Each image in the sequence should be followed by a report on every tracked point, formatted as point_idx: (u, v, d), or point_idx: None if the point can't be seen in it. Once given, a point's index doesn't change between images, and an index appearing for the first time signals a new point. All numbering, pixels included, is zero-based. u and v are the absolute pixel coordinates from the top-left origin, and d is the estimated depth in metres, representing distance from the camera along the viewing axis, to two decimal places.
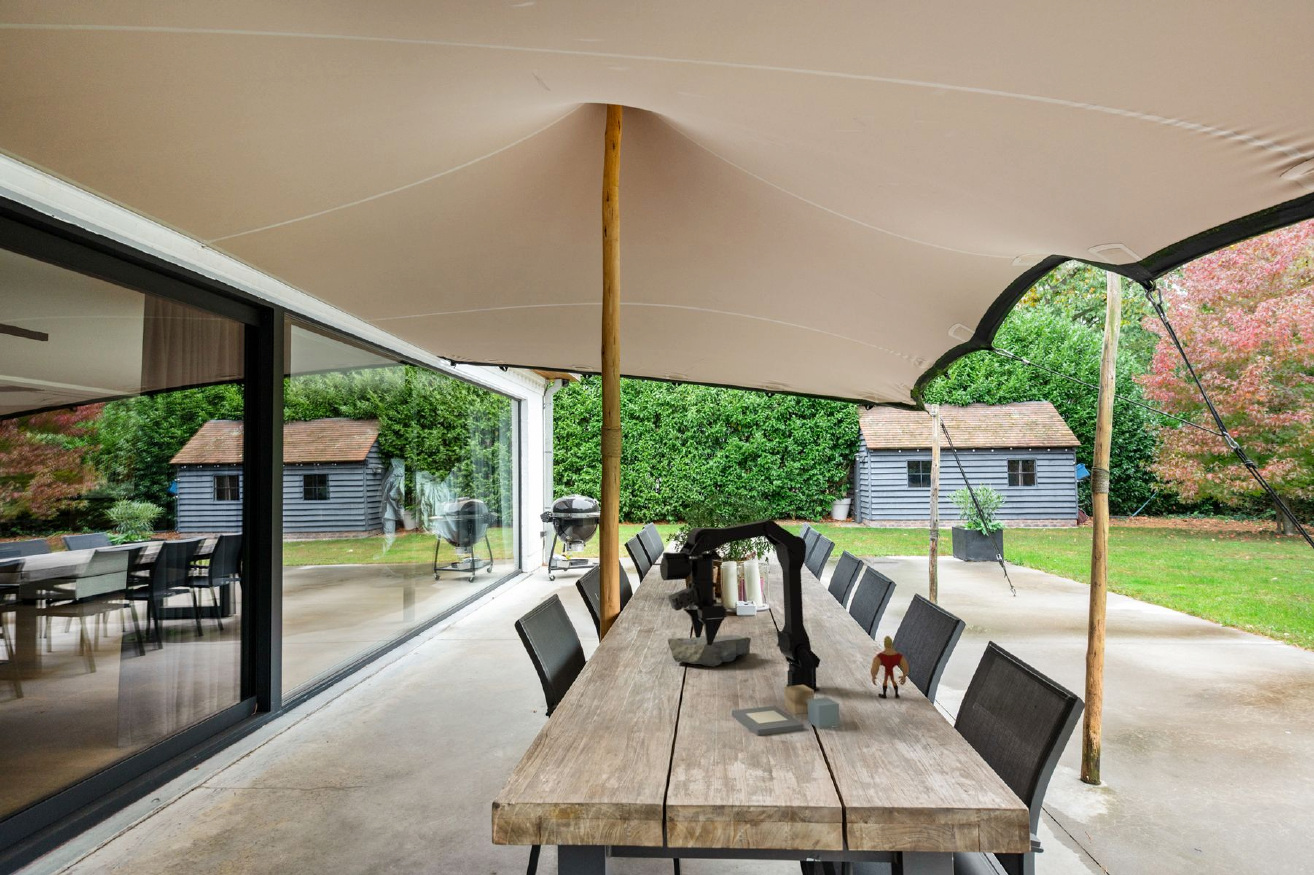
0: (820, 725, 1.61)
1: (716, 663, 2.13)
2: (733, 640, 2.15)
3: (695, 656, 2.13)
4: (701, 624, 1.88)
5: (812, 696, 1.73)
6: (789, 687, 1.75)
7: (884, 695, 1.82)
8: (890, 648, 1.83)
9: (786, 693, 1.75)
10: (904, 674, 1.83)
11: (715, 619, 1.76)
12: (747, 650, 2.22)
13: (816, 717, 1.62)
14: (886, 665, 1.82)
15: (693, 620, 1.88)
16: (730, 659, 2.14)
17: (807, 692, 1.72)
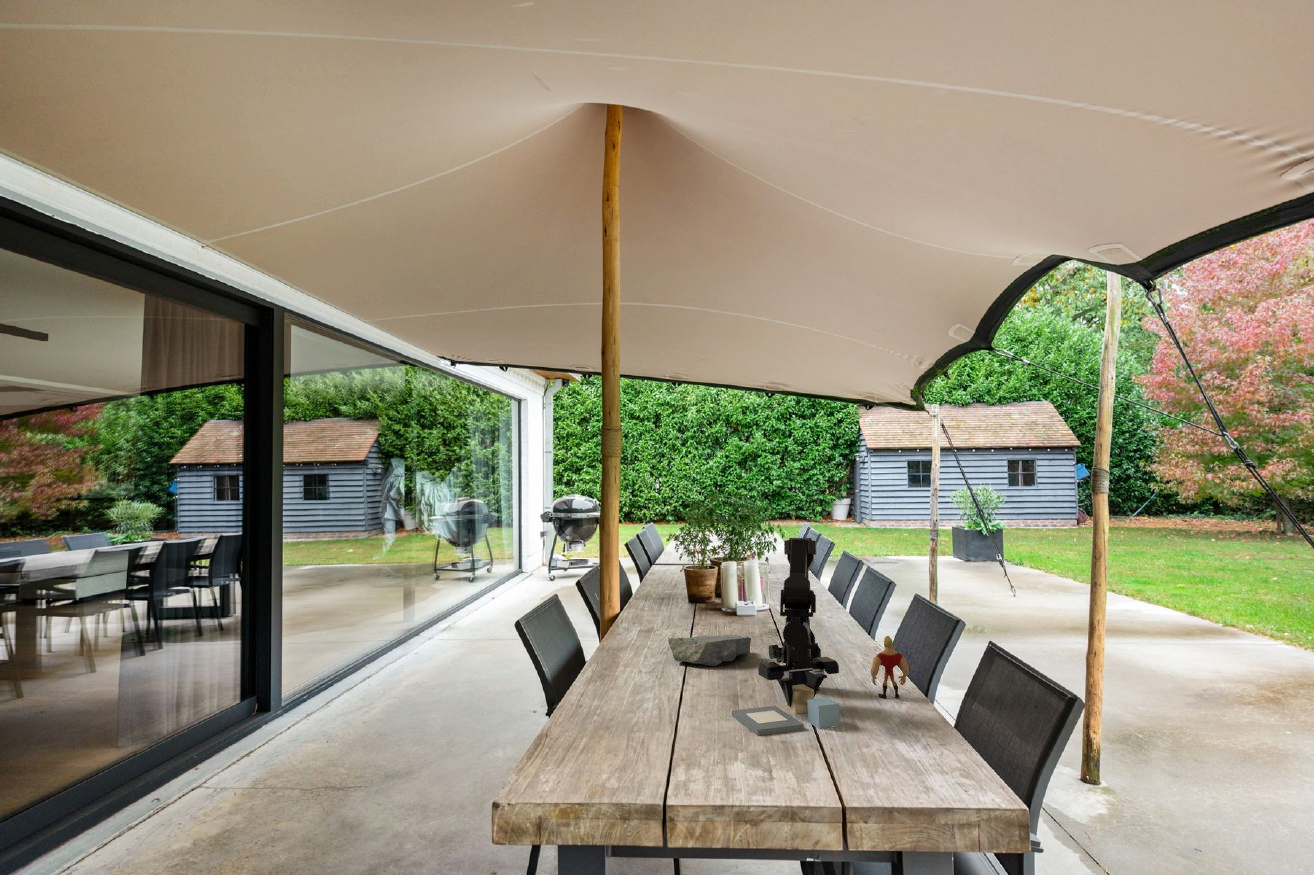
0: (820, 725, 1.61)
1: (716, 663, 2.14)
2: (733, 640, 2.16)
3: (695, 655, 2.14)
4: None
5: (812, 696, 1.73)
6: None
7: (884, 695, 1.82)
8: (890, 648, 1.83)
9: None
10: (904, 674, 1.83)
11: None
12: (747, 650, 2.22)
13: (816, 717, 1.62)
14: (886, 665, 1.82)
15: (807, 684, 1.76)
16: (730, 659, 2.15)
17: (807, 691, 1.72)
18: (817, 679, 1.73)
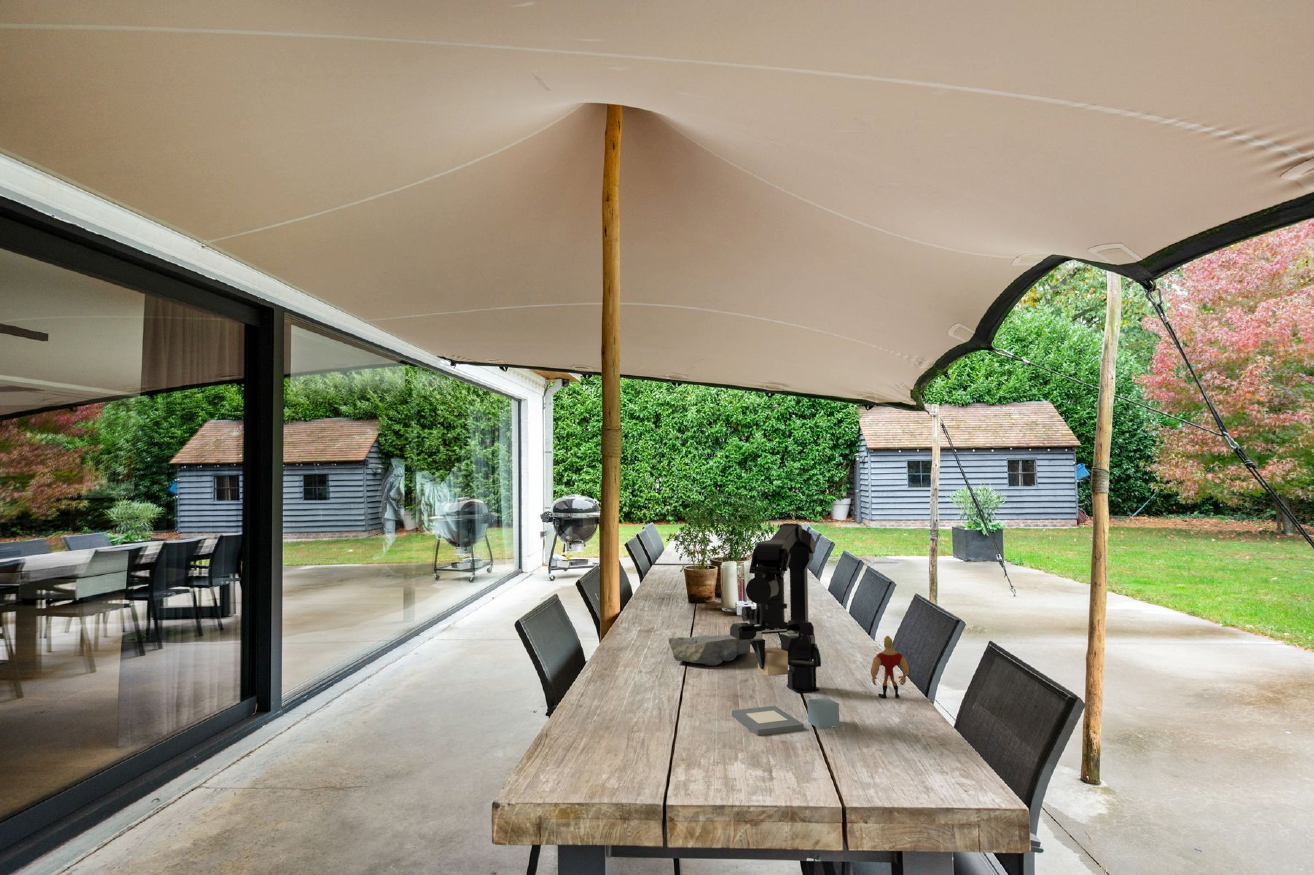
0: (820, 725, 1.61)
1: (716, 662, 2.14)
2: (733, 639, 2.16)
3: (695, 655, 2.14)
4: None
5: (786, 657, 1.65)
6: None
7: (884, 695, 1.82)
8: (890, 648, 1.83)
9: None
10: (904, 674, 1.83)
11: (748, 639, 1.65)
12: (747, 649, 2.23)
13: (816, 717, 1.62)
14: (886, 665, 1.82)
15: (781, 646, 1.69)
16: (730, 658, 2.15)
17: (780, 653, 1.65)
18: (791, 640, 1.66)
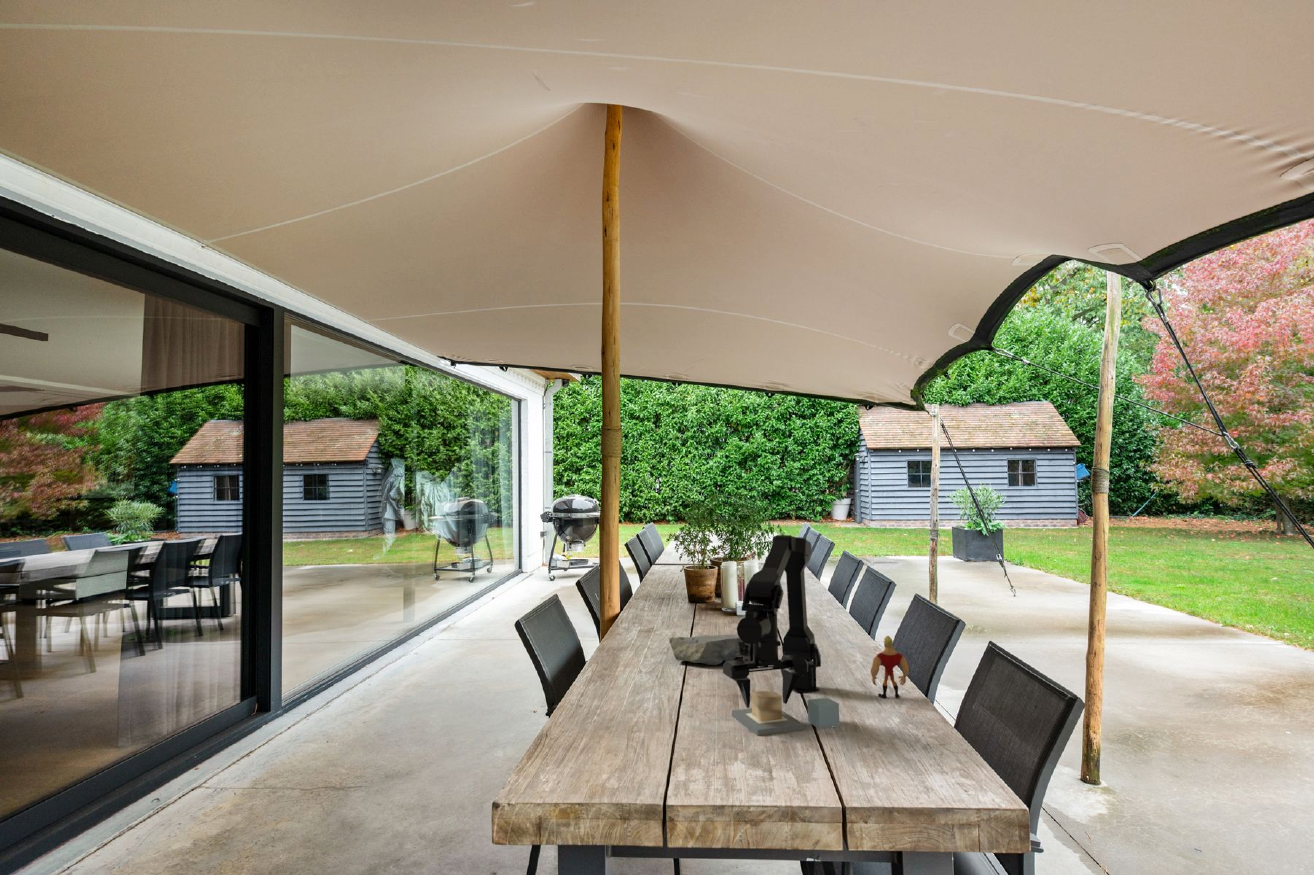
0: (820, 725, 1.61)
1: (717, 662, 2.15)
2: (734, 639, 2.16)
3: (696, 655, 2.15)
4: (786, 690, 1.66)
5: (780, 702, 1.63)
6: (756, 692, 1.66)
7: (884, 695, 1.82)
8: (890, 648, 1.83)
9: (752, 699, 1.66)
10: (904, 674, 1.83)
11: (733, 678, 1.63)
12: None
13: (816, 717, 1.62)
14: (886, 665, 1.82)
15: (783, 682, 1.68)
16: (731, 658, 2.15)
17: (774, 697, 1.63)
18: (792, 677, 1.65)
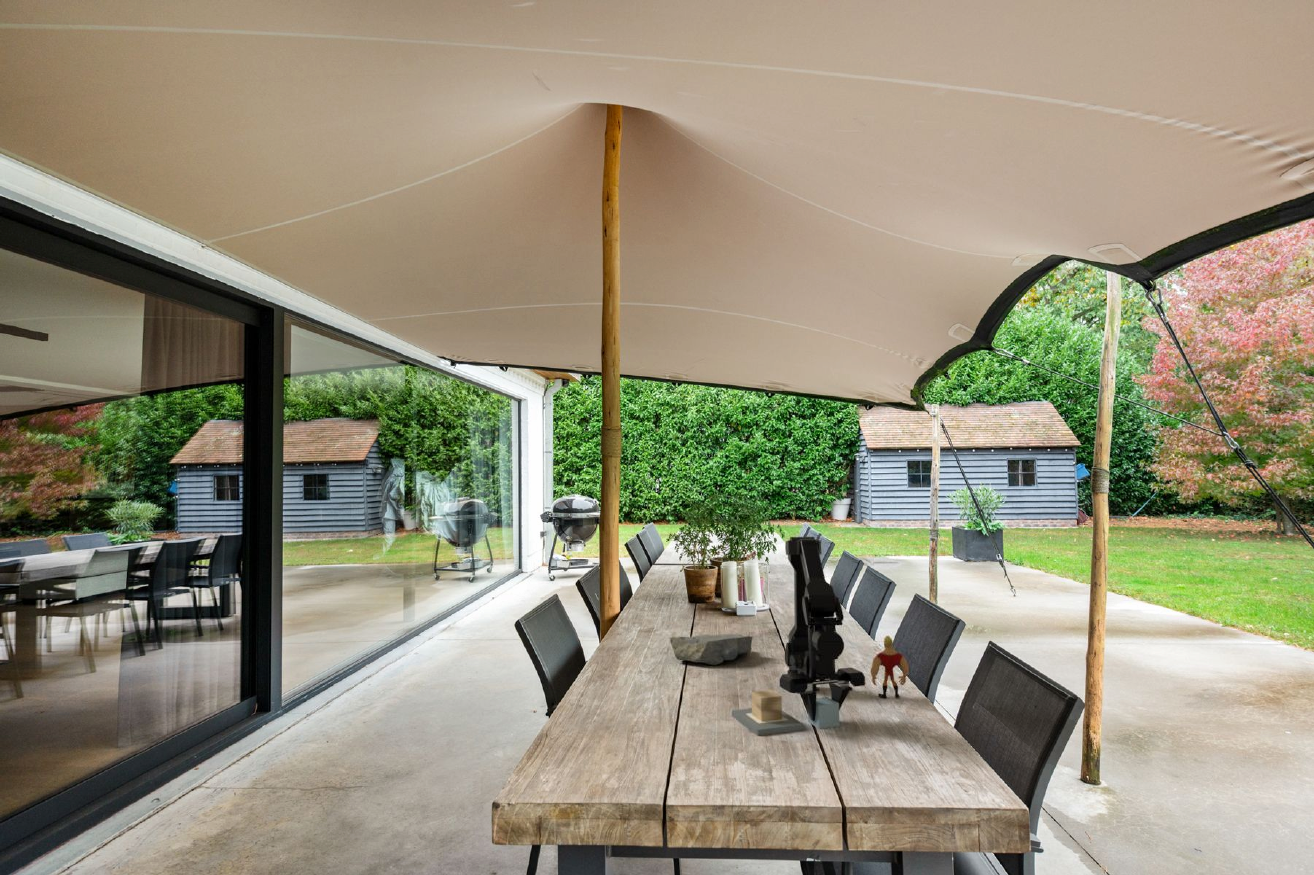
0: (820, 725, 1.61)
1: (718, 661, 2.15)
2: (735, 639, 2.17)
3: (697, 654, 2.15)
4: None
5: (780, 702, 1.63)
6: (756, 692, 1.66)
7: (884, 695, 1.82)
8: (890, 648, 1.83)
9: (752, 699, 1.66)
10: (904, 674, 1.83)
11: None
12: (749, 649, 2.24)
13: (816, 717, 1.62)
14: (886, 665, 1.82)
15: (831, 696, 1.66)
16: (732, 657, 2.16)
17: (774, 697, 1.63)
18: (842, 692, 1.62)
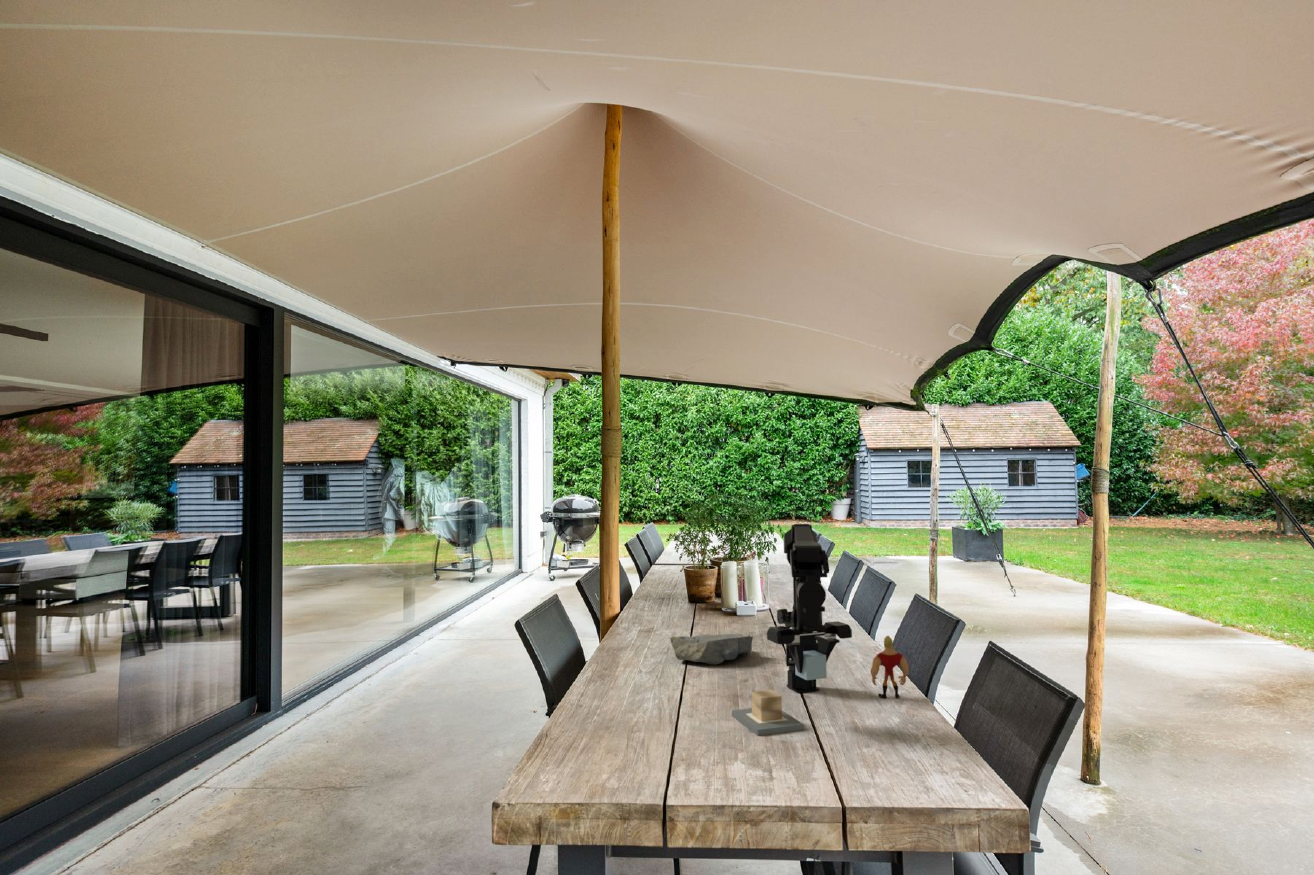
0: (807, 676, 1.61)
1: (718, 661, 2.15)
2: (735, 638, 2.17)
3: (697, 654, 2.15)
4: None
5: (780, 702, 1.63)
6: (756, 692, 1.66)
7: (884, 695, 1.82)
8: (890, 648, 1.83)
9: (752, 699, 1.66)
10: (904, 674, 1.83)
11: (786, 643, 1.63)
12: (749, 648, 2.24)
13: (803, 669, 1.62)
14: (886, 665, 1.82)
15: (818, 649, 1.67)
16: (732, 657, 2.16)
17: (774, 697, 1.63)
18: (829, 644, 1.63)
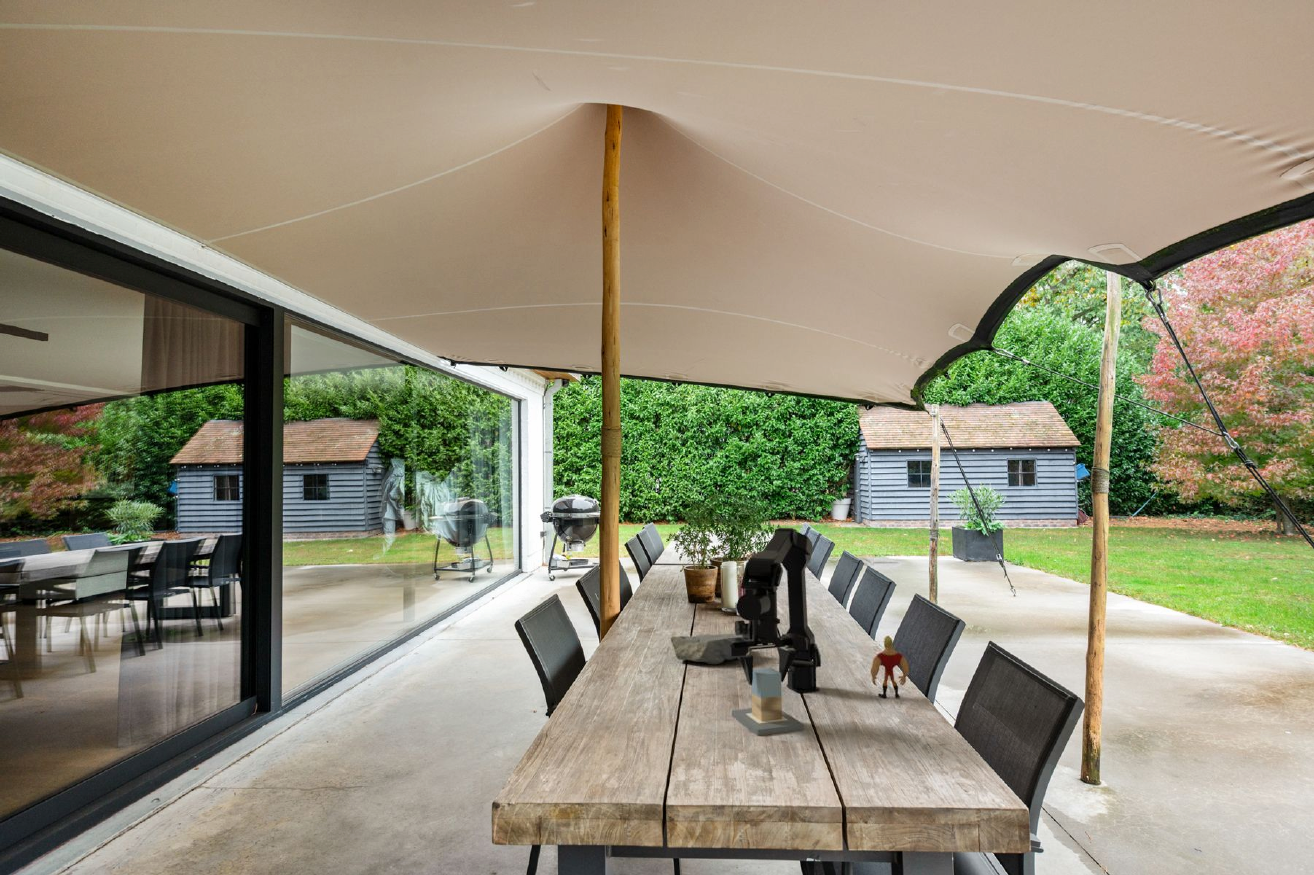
0: (762, 694, 1.62)
1: (718, 661, 2.16)
2: None
3: (698, 654, 2.16)
4: (783, 668, 1.66)
5: (780, 702, 1.63)
6: None
7: (884, 695, 1.82)
8: (890, 648, 1.83)
9: (752, 699, 1.66)
10: (904, 674, 1.83)
11: (736, 655, 1.63)
12: None
13: (758, 687, 1.63)
14: (886, 665, 1.82)
15: (779, 661, 1.68)
16: (732, 657, 2.17)
17: (774, 697, 1.63)
18: (789, 655, 1.65)
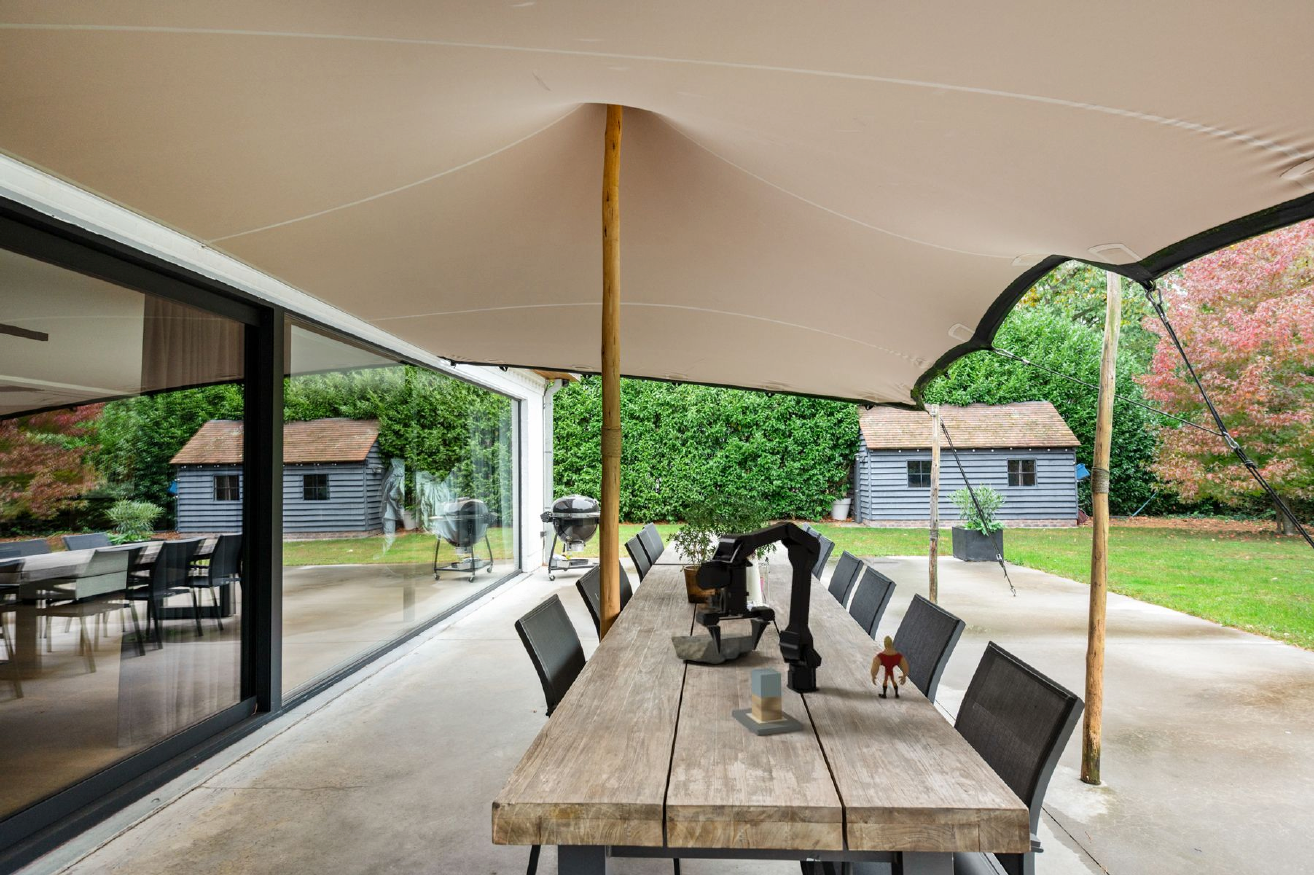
0: (762, 694, 1.62)
1: (719, 660, 2.16)
2: (736, 638, 2.18)
3: (698, 653, 2.16)
4: (755, 637, 1.78)
5: (780, 702, 1.63)
6: None
7: (884, 695, 1.82)
8: (890, 648, 1.83)
9: (752, 699, 1.66)
10: (904, 674, 1.83)
11: (705, 626, 1.75)
12: (750, 648, 2.25)
13: (758, 687, 1.63)
14: (886, 665, 1.82)
15: (752, 631, 1.80)
16: (733, 657, 2.17)
17: (774, 697, 1.63)
18: (760, 625, 1.77)
